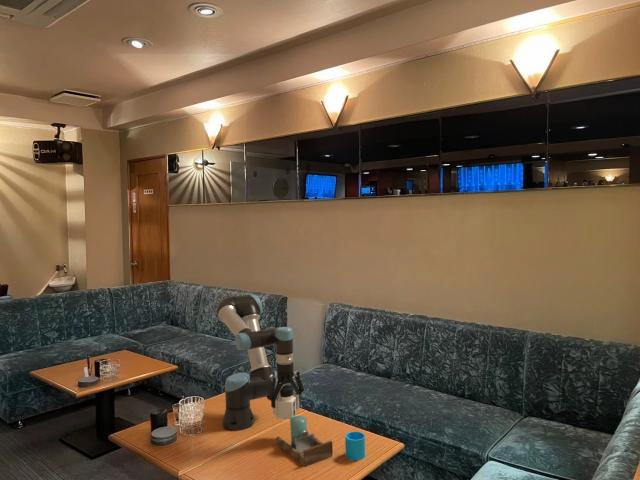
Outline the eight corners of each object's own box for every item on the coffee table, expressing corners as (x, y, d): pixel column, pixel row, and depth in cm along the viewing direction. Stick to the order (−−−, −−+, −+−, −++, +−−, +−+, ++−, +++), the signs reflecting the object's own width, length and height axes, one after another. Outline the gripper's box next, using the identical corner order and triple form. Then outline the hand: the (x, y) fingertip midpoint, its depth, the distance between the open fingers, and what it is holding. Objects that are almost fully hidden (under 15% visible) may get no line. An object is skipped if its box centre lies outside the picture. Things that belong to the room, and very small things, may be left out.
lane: (276, 444, 200) (276, 430, 200) (302, 435, 208) (302, 422, 207) (305, 466, 181) (304, 451, 181) (332, 456, 189) (332, 441, 188)
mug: (364, 461, 184) (363, 441, 184) (344, 459, 186) (343, 439, 185) (367, 447, 196) (367, 428, 195) (348, 445, 197) (348, 426, 197)
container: (297, 412, 208) (296, 384, 208) (292, 419, 201) (291, 390, 201) (280, 411, 210) (279, 383, 210) (275, 418, 202) (274, 389, 202)
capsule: (288, 446, 198) (287, 418, 198) (301, 441, 202) (301, 414, 202) (296, 452, 192) (295, 424, 192) (310, 447, 196) (309, 419, 196)
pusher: (294, 453, 192) (294, 434, 191) (313, 446, 197) (312, 428, 196) (296, 454, 191) (295, 435, 190) (314, 447, 196) (314, 429, 196)
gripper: (265, 369, 195) (267, 420, 196) (311, 359, 208) (312, 407, 209) (257, 365, 201) (259, 415, 202) (302, 356, 215) (303, 402, 215)
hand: (286, 411), depth 205 cm, fingers closed on container, 10 cm apart
